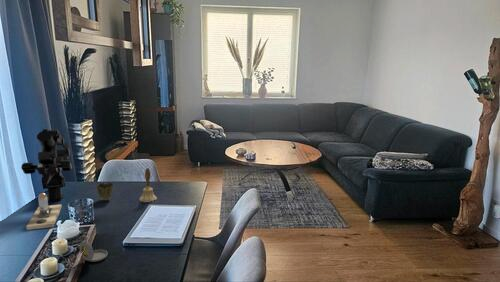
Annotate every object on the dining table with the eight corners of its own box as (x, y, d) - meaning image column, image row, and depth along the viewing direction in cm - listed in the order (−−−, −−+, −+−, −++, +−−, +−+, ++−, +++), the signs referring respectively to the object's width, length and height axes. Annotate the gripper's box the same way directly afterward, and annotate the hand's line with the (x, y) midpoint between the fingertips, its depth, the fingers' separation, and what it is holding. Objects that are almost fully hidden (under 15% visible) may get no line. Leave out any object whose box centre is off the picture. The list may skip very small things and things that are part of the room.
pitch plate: (38, 209, 148) (38, 203, 147) (61, 207, 151) (61, 201, 150) (26, 229, 130) (26, 222, 129) (53, 226, 133) (52, 219, 132)
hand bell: (158, 195, 168) (157, 165, 165) (155, 202, 160) (154, 170, 157) (141, 196, 167) (139, 165, 164) (137, 202, 159) (136, 170, 156)
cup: (96, 203, 156) (95, 187, 155) (98, 197, 163) (97, 182, 162) (113, 202, 158) (112, 186, 157) (114, 196, 165) (114, 181, 164)
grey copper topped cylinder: (40, 213, 140) (37, 191, 138) (51, 212, 142) (48, 191, 139) (38, 217, 136) (35, 195, 134) (49, 216, 138) (46, 194, 136)
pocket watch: (110, 252, 116) (109, 225, 114) (100, 266, 108) (98, 238, 105) (87, 252, 115) (84, 225, 113) (75, 265, 107) (72, 237, 105)
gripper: (19, 145, 142) (15, 177, 134) (68, 142, 149) (67, 173, 141) (26, 158, 151) (22, 189, 143) (72, 155, 157) (71, 185, 150)
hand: (46, 183), depth 144 cm, fingers closed
